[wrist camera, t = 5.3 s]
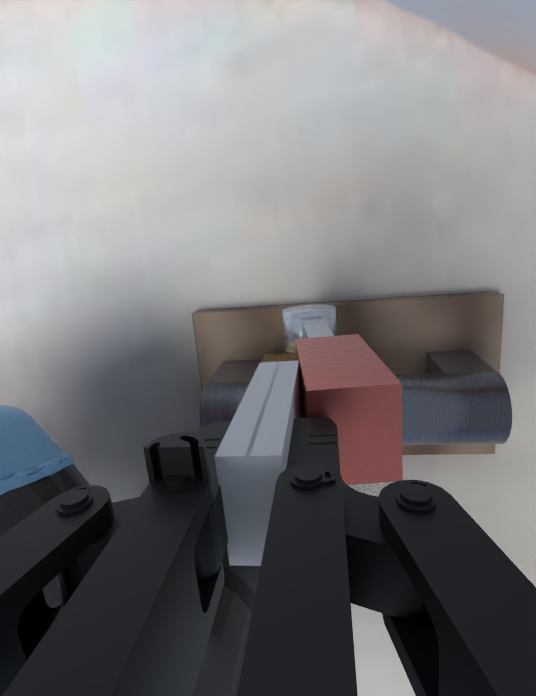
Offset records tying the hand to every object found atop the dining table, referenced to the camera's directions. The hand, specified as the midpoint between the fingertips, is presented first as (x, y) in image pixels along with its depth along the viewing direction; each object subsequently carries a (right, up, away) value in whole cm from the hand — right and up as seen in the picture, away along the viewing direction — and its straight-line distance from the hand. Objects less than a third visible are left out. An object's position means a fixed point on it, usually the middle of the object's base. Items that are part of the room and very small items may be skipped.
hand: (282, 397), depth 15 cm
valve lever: (+2, +3, +12) cm, 13 cm away
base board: (+5, 0, +18) cm, 19 cm away
